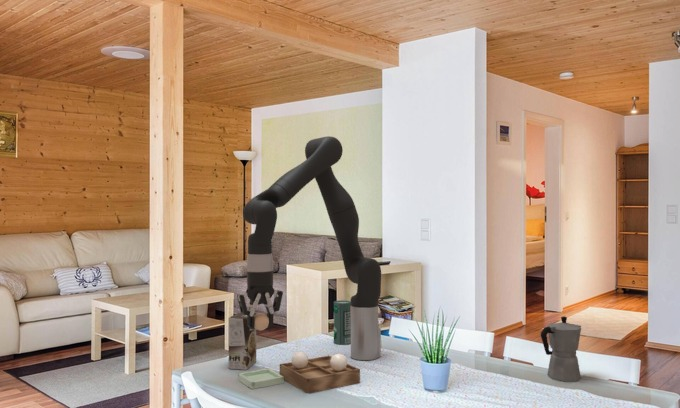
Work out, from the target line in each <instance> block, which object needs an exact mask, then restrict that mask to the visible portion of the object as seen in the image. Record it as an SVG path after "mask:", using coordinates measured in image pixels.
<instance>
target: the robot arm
mask: <svg viewBox="0 0 680 408" xmlns="http://www.w3.org/2000/svg"><path fill="white" fill-rule="evenodd" d="M304 153H305V160H304V161H303V162H301V163H300V164H298V165H297V166H294V167H293V168H291V169H290V170H289V171H287V172H285V173H284V174H283V175H281V176H280V177H279V178H278V179H277V180H276V181H274V183H272V184H271V185H270V186H269V187H268V188H267V189H265V190H263V191H262V192H260V193H258V194H257V195H256V196H253V197H252V198H251V199H250V200H249V201H247V203H246V204H245V205H244V207H243V211H242V216H243V217H242V218H243V219H244V220H245V221H246V222H247V223H248V224H250V225H255V227H254V228H255V229H254V232H252V233H250V234H249V235H248V238H247V260H246V287H247V288H246V291H245V292H243V293H237V295H236V298H237V303H238V307H239V311H240V313H242V314H244V315H247V325H248V327H249V328H250V329H254V316H253V315H254V313H256V310H257V308H258V306H259V305H264V307H265V310H266V313H265V314H266V315H267V316H268V318H269V325H268V327H267V328H270V327H271V328H272V326H273V324H274V314H275V313H276V312H279V311H280V308H281V304H282V299H283V294H284V292H283V290H279V289H276V290H275V289H274V259H273V258H274V257H273V236H274V234H275V229H276V224H277V219H278V212H277V208H281V207H284V206H286V204H288V203H289V202H290V201H291V200H292V199H293V198H294V197H295V196H296V195H297V194H299V192H300V191H301V190H302V189H304V188H305V186H307V185H308V184H309V183H310V182H312V181H313V180H314V179H315V181H316V183H317V186H318V189H319V191H320V194H321V197H322V200H323V202H324V205H325V208H326V212H327V215H328V219H329V221H330V223H331V226H332V228H333V231H334V234H335V235H334V236H335V239H336V241H337V243H338V246H339V249H340V253H341V257H342V262H343V268H344V271H345V273H346V277H347V279H348V280H349V281H350V282H352V283H354V284H356V285H357V289H356V293H355V294H354V295H352V296H351V297H350V300H349V301H350V305H351V344H350V357H351V358H352V359H354V360H356V361H357V360H359V361H372V360H376V359H378V358H380V357H382V351H381V350H382V349H381V348H382V340H381V339H382V334H381V332H382V329H381V328H380V327H379V299H380V298H381V291H382V290H381V289H382V286H381V285H382V269H381V264H380V263H379V261H377V260H376V259H375V258H371V257H365V255H364V253H363V251H362V249H361V245H360V242H359V228H360V218H359V214H358V211H357V207H356V205H355V201H354V199H353V198H352V196H351V195H350V193H349V192H348V191H347V190H346V189H345V188H344V187H343V185H342V184H341V183H340V182H339V180H338V179H337V178H336V176H335V173H334V171H333V168H332V167H333V166H334V165H335V164H338V162H339V161H340V160H341V158H342V155H343V146H342V143H341V141H340V140H339V139H338V138H336V137H335V136H323V137H318V138H313V139H310V140H309V141H307V143H306V145H305V147H304ZM272 297H273V303H272V300H271V298H272ZM247 298H248V299H249V302H248V304H247V303H246V301H247ZM247 306H248V307H247Z"/></svg>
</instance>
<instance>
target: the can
mask: <svg viewBox="0 0 680 408" xmlns="http://www.w3.org/2000/svg"><path fill="white" fill-rule="evenodd" d="M350 301H351V300H344V299H343V300H335V301H333V344H334V345H338V346H346V345H351V305H350Z"/></svg>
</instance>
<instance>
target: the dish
mask: <svg viewBox="0 0 680 408" xmlns="http://www.w3.org/2000/svg"><path fill="white" fill-rule="evenodd" d="M237 380H238V381H239V382H240V383H242V385H243V384H244V385H245V386H247V387H248V388H249V389H251V390H254V389H261V388H265V387H271V386H276V385H280V384H284V383H285V380H284V377H283V376H282V375H280V373H278V372H276V371H275V370H273V369H272V368H264V369H259V370H258V369H257V370H252V371H246V372H240V373H237Z"/></svg>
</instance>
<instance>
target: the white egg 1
mask: <svg viewBox="0 0 680 408" xmlns="http://www.w3.org/2000/svg"><path fill="white" fill-rule="evenodd" d="M308 359H309V355H307V353H305V352H304V351H296V352H294V354H293V355H292V356H291V361H290V362H292V364H293V366H294V367H295V368H297V369H302V368H304V367H306V365H307V364H308Z"/></svg>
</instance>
